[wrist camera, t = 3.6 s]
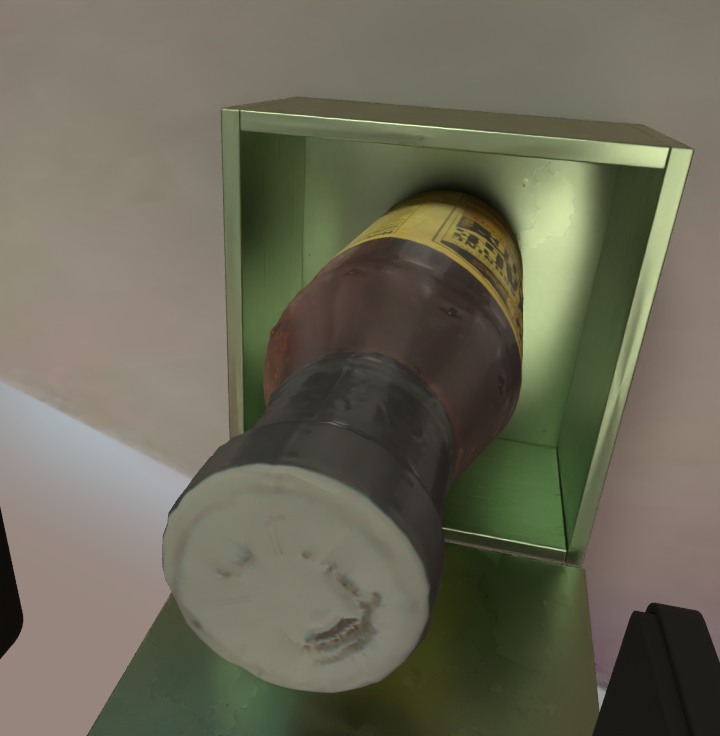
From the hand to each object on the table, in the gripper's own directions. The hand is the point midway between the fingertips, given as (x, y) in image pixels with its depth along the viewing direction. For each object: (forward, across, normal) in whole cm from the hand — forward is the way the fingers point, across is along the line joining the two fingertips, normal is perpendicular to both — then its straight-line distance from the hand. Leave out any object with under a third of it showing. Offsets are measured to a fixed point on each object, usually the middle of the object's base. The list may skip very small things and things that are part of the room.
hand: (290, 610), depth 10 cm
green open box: (+20, -1, +1) cm, 20 cm away
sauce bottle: (+20, 0, 0) cm, 20 cm away
